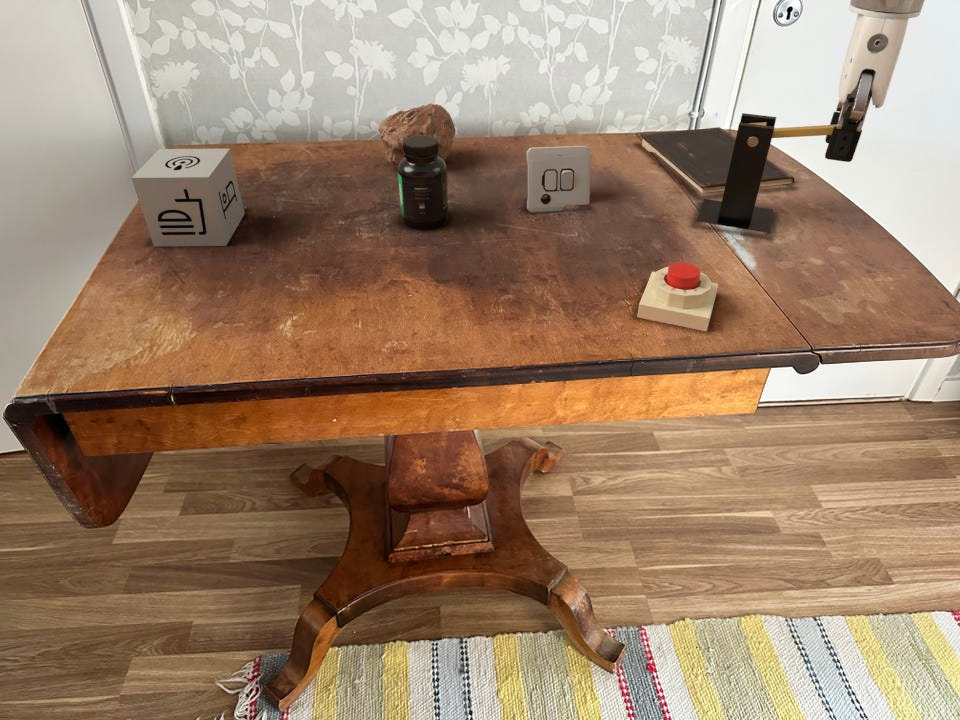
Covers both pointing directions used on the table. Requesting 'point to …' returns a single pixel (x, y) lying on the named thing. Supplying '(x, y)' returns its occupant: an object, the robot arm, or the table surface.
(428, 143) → the supplement bottle
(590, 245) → the table surface
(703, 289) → the switch box
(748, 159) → the bracket
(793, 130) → the lever
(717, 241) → the table surface
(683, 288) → the button
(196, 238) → the icon cube
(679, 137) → the hardcover book
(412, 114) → the decorative rock
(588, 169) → the electrical switch
